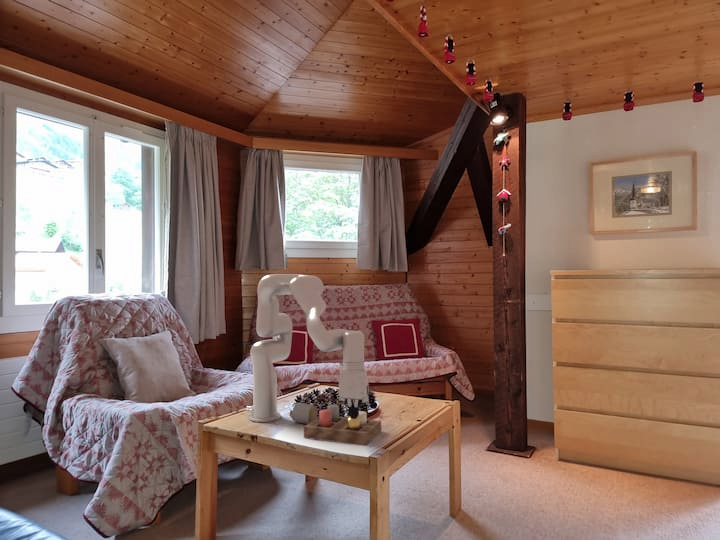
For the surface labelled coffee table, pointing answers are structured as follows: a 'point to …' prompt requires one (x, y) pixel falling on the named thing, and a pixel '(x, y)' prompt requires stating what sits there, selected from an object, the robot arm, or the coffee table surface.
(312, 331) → the robot arm
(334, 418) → the gray block
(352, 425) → the gold round piece
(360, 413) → the cream white block
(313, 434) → the box
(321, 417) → the pink cylinder
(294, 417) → the ceramic mug
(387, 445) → the coffee table surface
